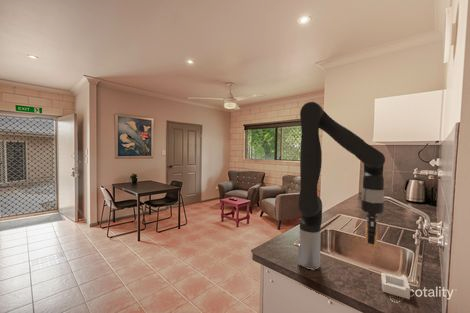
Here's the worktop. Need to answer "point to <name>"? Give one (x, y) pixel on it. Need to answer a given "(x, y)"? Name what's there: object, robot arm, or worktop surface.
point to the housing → (395, 285)
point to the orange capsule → (367, 238)
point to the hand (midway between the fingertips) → (370, 241)
